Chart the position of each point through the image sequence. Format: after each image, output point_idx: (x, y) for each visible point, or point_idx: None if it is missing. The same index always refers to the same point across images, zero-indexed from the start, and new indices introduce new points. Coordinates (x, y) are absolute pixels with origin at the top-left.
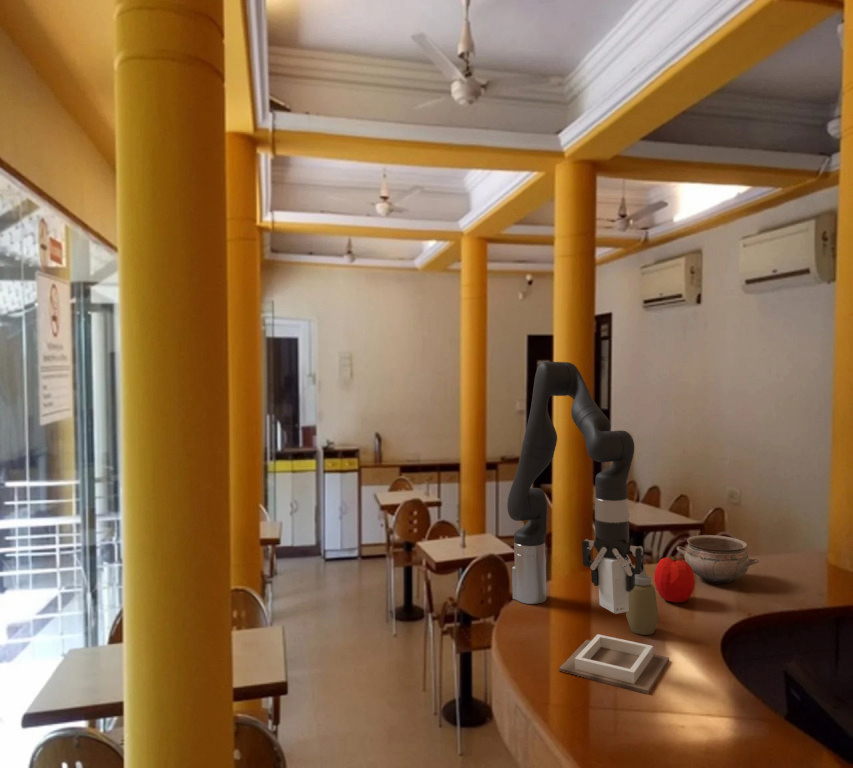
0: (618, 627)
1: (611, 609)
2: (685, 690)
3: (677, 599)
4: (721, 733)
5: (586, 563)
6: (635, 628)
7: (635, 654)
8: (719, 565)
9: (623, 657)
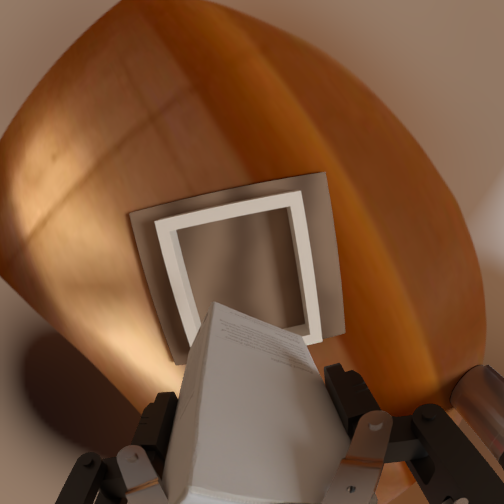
0: None
1: (229, 310)
2: (97, 274)
3: None
4: (19, 185)
5: (423, 420)
6: None
7: None
8: None
9: (242, 312)
